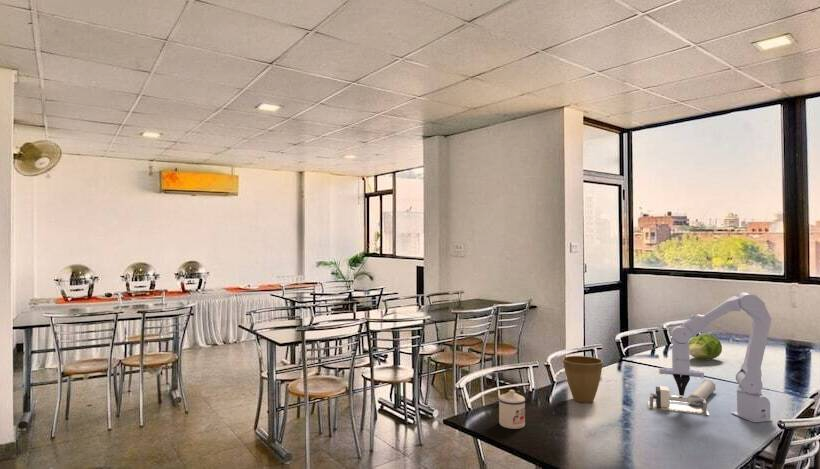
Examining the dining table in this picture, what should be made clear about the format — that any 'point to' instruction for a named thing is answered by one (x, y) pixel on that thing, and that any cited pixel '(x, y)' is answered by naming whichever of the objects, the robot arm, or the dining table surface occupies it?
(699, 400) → the rod rig
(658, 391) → the dark gray slab
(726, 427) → the dining table surface
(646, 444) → the dining table surface
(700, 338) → the lettuce
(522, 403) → the teacup with lid
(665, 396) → the sleeve
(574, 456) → the dining table surface
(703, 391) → the tube
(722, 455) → the dining table surface
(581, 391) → the plant pot
